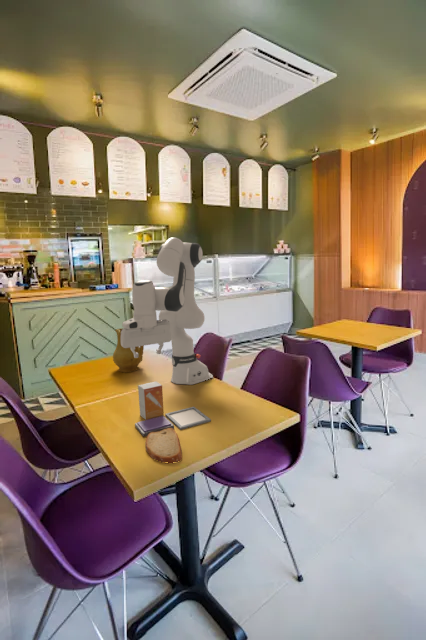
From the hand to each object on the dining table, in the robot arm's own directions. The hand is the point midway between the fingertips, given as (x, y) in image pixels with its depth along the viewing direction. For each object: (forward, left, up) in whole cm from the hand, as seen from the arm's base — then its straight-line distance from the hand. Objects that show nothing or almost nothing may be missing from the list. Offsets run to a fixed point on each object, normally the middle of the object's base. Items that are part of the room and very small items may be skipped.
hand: (147, 355), depth 142 cm
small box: (0, 0, -26) cm, 26 cm away
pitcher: (-11, -70, -26) cm, 75 cm away
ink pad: (+3, +11, -25) cm, 28 cm away
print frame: (-11, +11, -25) cm, 30 cm away
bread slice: (+4, +27, -26) cm, 38 cm away
